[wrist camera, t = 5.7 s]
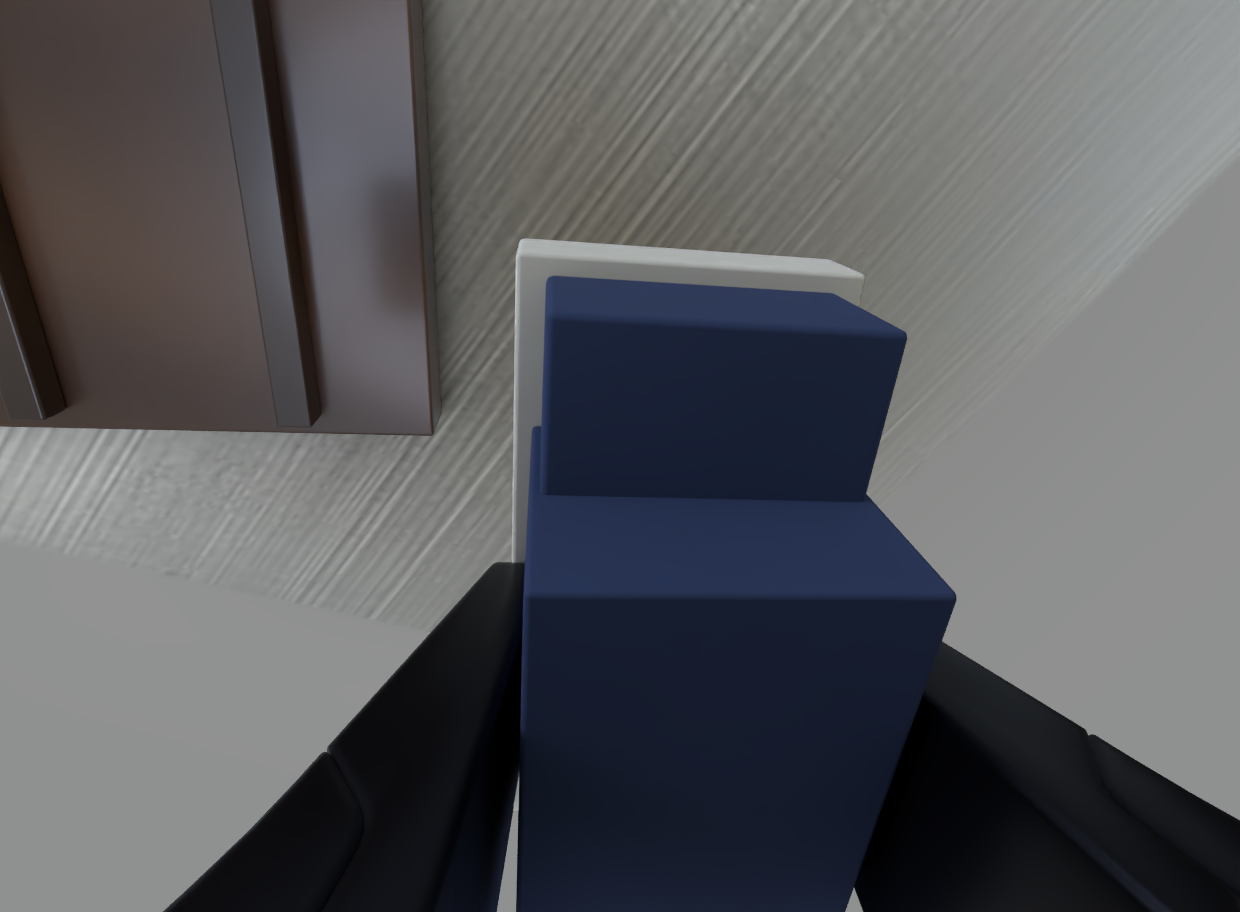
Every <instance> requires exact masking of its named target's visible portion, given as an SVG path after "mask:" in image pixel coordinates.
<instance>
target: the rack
mask: <svg viewBox="0 0 1240 912" xmlns="http://www.w3.org/2000/svg"><path fill="white" fill-rule="evenodd" d="M440 416H441V394H440V374H439V353H438V332H437V311H436V291H435V270H434V249H433V228H432V207H431V187H430V166H429V145H428V124H427V104H426V83H425V62H424V41H423V21H422V0H0V426H6V427H52V428H99V429H145V430H191V431H238V432H284V433H330V434H377V435H423V436H432V435H433V434H434V432H435V429H436V427H437V424H438V422H439V419H440Z"/></svg>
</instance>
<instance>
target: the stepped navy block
mask: <svg viewBox="0 0 1240 912" xmlns="http://www.w3.org/2000/svg"><path fill="white" fill-rule="evenodd" d="M864 282H865V276H864V275H863V274H862V273H859V272H857V271H855V270H852V269H850V268H848V267H845V266H843V265H841V264H838V263H836V262H834V261H831V260H829V259H817V258H802V257H788V256H773V255H759V254H744V253H730V252H716V251H701V250H687V249H672V248H658V247H643V246H629V245H614V244H600V243H586V242H571V241H557V240H542V239H528V238H524V239H521V240H520V243H519V246H518V250H517V253H516V276H515V351H514V426H513V501H512V562H514V563H525V573H524V593H523V634H522V678H521V723H520V767H519V777H518V783H517V789H516V795H515V802H514V808H513V812H519V813H518V855H517V856H518V857H517V859H518V860H517V900H516V901H517V902H516V912H845V910H846V908H847V904H848V902H849V899H850V896H851V894H852V891H853V888H854V885H855V882H856V880H857V877H858V874H859V871H860V868H861V866H862V863H863V860H864V857H865V854H866V852H867V849H868V846H869V843H870V840H871V838H872V835H873V832H874V829H875V826H876V824H877V821H878V818H879V815H880V812H881V810H882V807H883V804H884V801H885V798H886V796H887V793H888V790H889V787H890V784H891V782H892V779H893V776H894V773H895V770H896V768H897V765H898V762H899V759H900V756H901V754H902V751H903V748H904V745H905V742H906V740H907V737H908V734H909V731H910V728H911V726H912V723H913V720H914V717H915V715H916V712H917V709H918V706H919V703H920V701H921V698H922V695H923V692H924V689H925V687H926V684H927V681H928V678H929V675H930V673H931V670H932V667H933V664H934V661H935V659H936V656H937V653H938V650H939V647H940V645H941V642H942V639H943V636H944V633H945V631H946V628H947V625H948V622H949V619H950V617H951V614H952V611H953V608H954V605H955V603H956V594H955V592H954V591H953V590H952V589H951V588H950V587H949V586H948V584H947V583H946V582H945V581H944V580H943V579H942V578H941V577H940V576H939V574H938V573H937V572H936V571H935V570H934V569H933V568H932V567H931V565H930V564H929V563H928V562H927V561H926V560H925V559H924V558H923V557H922V556H921V555H920V553H919V552H918V551H917V550H916V549H915V548H914V547H913V546H912V544H911V543H910V542H909V541H908V540H907V539H906V538H905V537H904V536H903V535H902V533H901V532H900V531H899V530H898V529H897V528H896V527H895V526H894V525H893V523H892V522H891V521H890V520H889V519H888V518H887V517H886V516H885V514H884V513H883V512H882V511H881V510H880V509H879V508H878V507H877V506H876V504H875V503H874V502H873V501H872V500H871V499H870V498H869V497H868V496H867V494H866V492H867V488H868V484H869V480H870V477H871V473H872V469H873V465H874V462H875V458H876V454H877V450H878V446H879V443H880V439H881V435H882V431H883V428H884V424H885V420H886V416H887V413H888V409H889V405H890V401H891V398H892V394H893V390H894V386H895V383H896V379H897V375H898V371H899V367H900V364H901V360H902V356H903V352H904V349H905V345H906V341H907V334H906V332H904V331H902V330H900V329H898V328H897V327H895V326H893V325H891V324H889V323H887V322H885V321H884V320H882V319H880V318H878V317H876V316H874V315H872V314H871V313H869V312H867V311H865V310H863V309H861V308H859V303H860V299H861V295H862V290H863V286H864Z"/></svg>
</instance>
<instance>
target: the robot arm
mask: <svg viewBox="0 0 1240 912" xmlns="http://www.w3.org/2000/svg"><path fill="white" fill-rule="evenodd" d="M524 573H525V563H514V562H497V563H494V564H493V565H491V567H490V568H489V569H488V570H487V571H486V572H485V573H484V574H483V575H482V577H481V578H480V579H479V580H478V581H477V582H476V583H475V584H474V585H473V586H472V588H471V589H470V590H469V591H468V592H467V593H466V594H465V595H464V596H463V598H462V599H461V600H460V601H459V602H458V603H457V604H456V605H455V606H454V608H453V609H452V610H451V611H450V612H449V613H448V614H447V615H446V616H445V617H444V619H443V620H442V621H441V622H440V623H439V624H438V625H437V626H436V627H435V629H434V630H433V631H432V632H431V633H430V634H429V635H428V636H427V637H426V639H425V640H424V641H423V642H422V643H421V644H420V645H419V646H418V647H417V649H416V650H415V651H414V652H413V653H412V654H411V655H410V656H409V657H408V659H407V660H406V661H405V662H404V663H403V664H402V665H401V666H400V668H398V670H397V671H396V672H395V673H394V674H393V675H392V676H391V677H390V678H389V679H388V681H387V682H386V683H385V684H384V685H383V686H382V687H381V688H380V689H379V691H378V692H377V693H376V694H375V695H374V696H373V697H372V698H371V700H370V701H369V702H368V703H367V704H366V705H365V706H364V707H363V708H362V710H361V711H360V712H359V713H358V714H357V715H356V716H355V717H354V718H353V719H352V720H351V722H350V723H349V724H348V725H347V726H346V727H345V728H344V729H343V730H342V732H341V733H340V734H339V735H338V736H337V737H336V738H335V739H334V740H333V741H332V743H331V744H330V745H329V746H328V748H327V752H323V753H321V754H320V755H319V756H318V758H317V759H316V760H315V761H314V762H313V763H312V764H311V765H310V766H309V768H308V769H307V770H306V771H305V772H304V773H303V774H302V776H301V777H300V778H299V779H298V780H297V781H296V782H295V783H294V784H293V785H292V786H291V787H290V788H289V789H288V790H287V791H286V792H285V793H284V794H283V796H282V797H281V798H280V799H279V800H278V801H277V802H276V803H275V804H274V805H273V806H272V807H271V808H270V809H269V810H268V811H267V812H266V813H265V814H264V816H263V817H262V818H261V819H260V820H259V821H258V822H257V823H256V824H255V825H254V826H253V827H252V828H251V829H250V830H249V831H248V832H247V833H246V834H245V835H244V836H243V837H242V838H241V839H240V840H239V841H238V842H237V843H236V844H234V845H233V846H232V847H231V848H230V849H229V850H228V851H227V852H226V853H225V854H224V855H223V856H222V857H221V858H220V859H219V860H218V861H217V862H216V863H215V864H213V866H212V867H210V868H209V869H208V870H207V871H206V872H205V873H204V874H203V875H202V876H201V877H200V878H199V879H198V880H197V881H196V882H195V883H194V884H193V885H192V886H190V887H189V888H188V889H187V890H186V891H185V892H184V893H183V894H182V895H181V896H180V897H178V898H177V899H176V900H175V901H174V902H173V903H172V904H171V905H170V906H169V907H168V908H167V909H166V910H164V911H163V912H497V905H498V900H499V893H500V887H501V880H502V875H503V869H504V863H505V857H506V851H507V844H508V838H509V832H510V826H511V820H512V813H513V808H514V802H515V795H516V789H517V783H518V777H519V767H520V723H521V678H522V634H523V593H524ZM854 888H855V891H856V893H857V896H858V899H859V901H860V904H861V907H862V909H863V912H1240V820H1238V819H1236V818H1234V817H1233V816H1231V815H1229V814H1227V813H1226V812H1224V811H1222V810H1220V809H1218V808H1217V807H1215V806H1213V805H1211V804H1209V803H1208V802H1206V801H1204V800H1202V799H1201V798H1199V797H1197V796H1195V795H1193V794H1192V793H1190V792H1188V791H1187V790H1185V789H1183V788H1182V787H1180V786H1178V785H1177V784H1175V783H1173V782H1172V781H1170V780H1168V779H1167V778H1165V777H1163V776H1162V775H1160V774H1158V773H1156V772H1155V771H1153V770H1151V769H1150V768H1148V767H1146V766H1145V765H1143V764H1141V763H1140V762H1138V761H1136V760H1135V759H1133V758H1131V757H1130V756H1128V755H1126V754H1125V753H1123V752H1122V751H1120V750H1118V749H1117V748H1115V747H1113V746H1112V745H1110V744H1109V743H1107V742H1105V741H1104V740H1102V739H1101V738H1099V737H1097V736H1096V735H1089V736H1088V734H1087V732H1086V730H1085V729H1084V728H1082V727H1081V726H1079V725H1077V724H1076V723H1074V722H1073V721H1071V720H1069V719H1068V718H1066V717H1064V716H1063V715H1061V714H1059V713H1058V712H1056V711H1054V710H1053V709H1051V708H1050V707H1048V706H1046V705H1045V704H1043V703H1042V702H1040V701H1038V700H1037V699H1035V698H1033V697H1032V696H1030V695H1028V694H1027V693H1025V692H1023V691H1022V690H1020V689H1019V688H1017V687H1015V686H1014V685H1012V684H1010V683H1009V682H1007V681H1005V680H1004V679H1002V678H1001V677H999V676H997V675H996V674H994V673H993V672H991V671H989V670H988V669H986V668H984V667H983V666H981V665H980V664H978V663H976V662H975V661H973V660H971V659H970V658H968V657H966V656H965V655H963V654H962V653H960V652H958V651H957V650H955V649H953V648H952V647H950V646H948V645H947V644H945V643H943V642H941V645H940V647H939V650H938V653H937V656H936V659H935V661H934V664H933V667H932V670H931V673H930V675H929V678H928V681H927V684H926V687H925V689H924V692H923V695H922V698H921V701H920V703H919V706H918V709H917V712H916V715H915V717H914V720H913V723H912V726H911V728H910V731H909V734H908V737H907V740H906V742H905V745H904V748H903V751H902V754H901V756H900V759H899V762H898V765H897V768H896V770H895V773H894V776H893V779H892V782H891V784H890V787H889V790H888V793H887V796H886V798H885V801H884V804H883V807H882V810H881V812H880V815H879V818H878V821H877V824H876V826H875V829H874V832H873V835H872V838H871V840H870V843H869V846H868V849H867V852H866V854H865V857H864V860H863V863H862V866H861V868H860V871H859V874H858V877H857V880H856V882H855V885H854Z"/></svg>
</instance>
